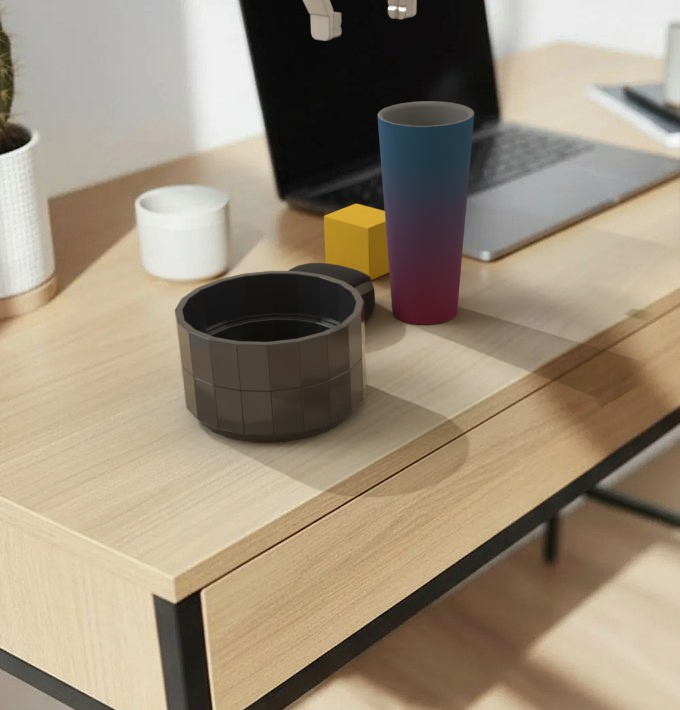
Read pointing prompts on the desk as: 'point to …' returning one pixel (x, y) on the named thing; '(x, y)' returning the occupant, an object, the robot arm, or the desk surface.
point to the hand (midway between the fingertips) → (365, 27)
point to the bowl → (272, 354)
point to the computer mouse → (345, 280)
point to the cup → (425, 205)
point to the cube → (357, 239)
